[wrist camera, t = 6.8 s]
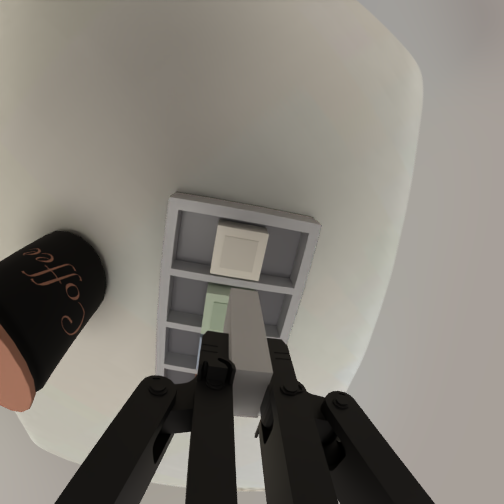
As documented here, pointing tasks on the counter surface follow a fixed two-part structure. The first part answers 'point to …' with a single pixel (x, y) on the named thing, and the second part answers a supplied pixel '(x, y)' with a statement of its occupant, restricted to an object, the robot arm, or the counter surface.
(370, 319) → the counter surface
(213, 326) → the key sage
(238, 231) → the key ivory
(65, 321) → the coffee jar
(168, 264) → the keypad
